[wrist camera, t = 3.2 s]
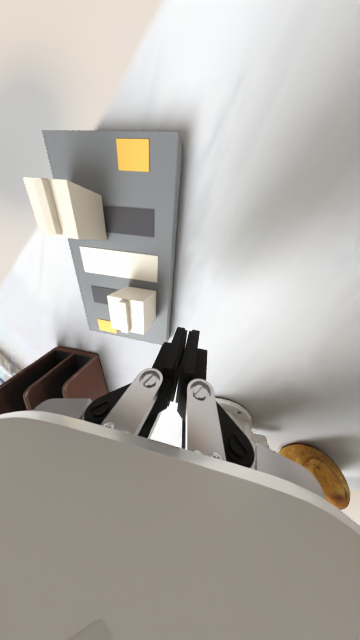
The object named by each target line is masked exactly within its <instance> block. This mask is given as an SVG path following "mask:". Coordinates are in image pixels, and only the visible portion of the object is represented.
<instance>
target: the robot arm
mask: <svg viewBox="0 0 360 640" xmlns="http://www.w3.org/2000/svg"><path fill="white" fill-rule="evenodd" d="M199 332H200V331H197V330H192V331H189V335H188V339H187V343H186V337H187V330H185V328H181V327H178V328H177V330H176V333H175V335H174V338H173V340H172V343H168V342H164V343H163V345H162V347H161V349H160V352H159V354H158V356H157V358H156V360H155V362H154V364H153V367H152V368H148V369H145V370H143V371H141V372H140V373H139V374H138V376H137V377H136V378H135V380H134V381H133V382H132V383H130V384H128V385H126V386H124V387H121V388H119V389H117V390H115V391H112V392H110V393H108V394H106V395H103V396H101V397H99V398H97V399H95V400H90V399H83V398H54V399H49V400H46V401H44V402H42V403H41V404H39V405H38V406H37V407H36V408H35V409H34V410H33V411H17V412H11V413H5V414H1V415H0V640H360V526H359V525H358V524H357V523H356V522H354V521H353V520H352V519H351V518H350V517H349V516H347V515H346V514H345V513H343V512H342V511H341V510H339V509H338V508H337V507H336V506H334V505H332V504H331V503H329V502H328V501H326V498H325V495H324V492H323V490H322V488H321V485H320V484H319V482H318V481H317V479H316V478H315V477H314V476H313V475H312V474H311V472H310V471H309V470H307V469H306V468H304V467H303V466H301V465H300V464H298V463H296V462H294V461H292V460H290V459H288V458H286V457H284V456H282V455H280V454H278V453H276V452H274V451H272V450H271V449H269V446H268V444H267V439H266V437H265V436H263V435H259V434H254V433H253V432H252V431H251V429H252V420H251V416H250V414H249V413H248V412H247V410H246V409H245V408H243V407H242V406H240V405H239V404H237V403H235V402H232V401H230V400H226V399H220V398H215V394H214V390H213V387H212V386H211V384H209V383H208V382H207V381H206V369H207V350H203V349H198V348H197V347H198V340H199ZM185 344H186V347H185ZM178 379H179V380H178ZM177 384H178V388H177ZM176 388H177V396H176V403H178V409H177V411H178V413H179V415H180V416H181V418H182V420H181V448H179V447H175V446H172V445H168V444H165V443H161V442H158V441H154V440H151V439H150V437H151V434H152V432H153V430H154V428H155V426H156V423H157V421H158V419H159V417H160V414H161V411H163V410H165V409H166V408H167V406H169V403H170V401H172V402H173V400H174V396H175V392H176Z"/></svg>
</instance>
